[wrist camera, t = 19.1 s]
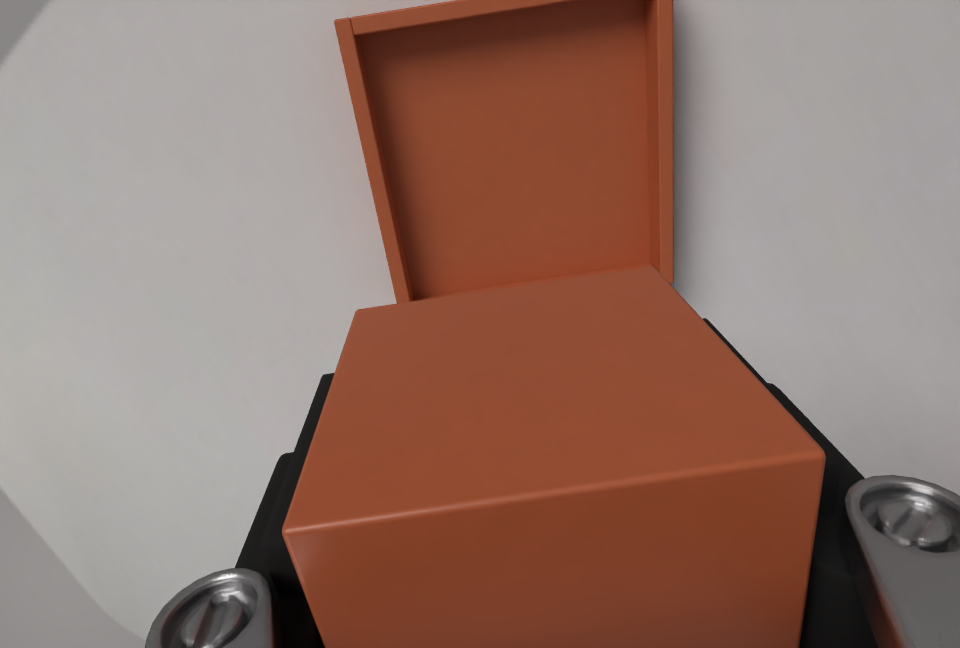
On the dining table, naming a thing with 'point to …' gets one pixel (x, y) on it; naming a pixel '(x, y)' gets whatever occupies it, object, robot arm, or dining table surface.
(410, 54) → the terracotta tray
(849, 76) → the dining table surface
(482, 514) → the terracotta block
